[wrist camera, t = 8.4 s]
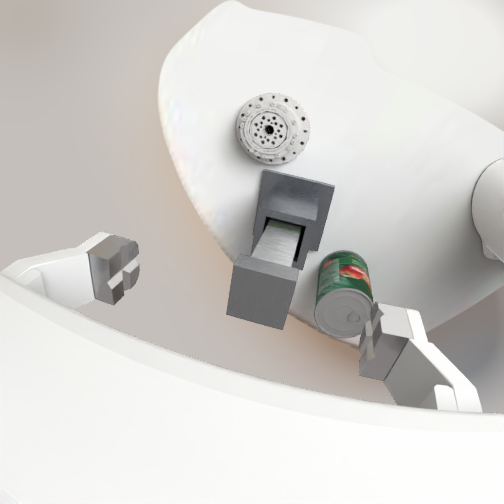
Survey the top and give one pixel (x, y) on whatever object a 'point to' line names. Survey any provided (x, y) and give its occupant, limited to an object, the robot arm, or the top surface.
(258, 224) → the grey hollow housing
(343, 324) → the canned tomato
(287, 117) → the mechanical component
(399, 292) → the top surface
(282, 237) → the column
